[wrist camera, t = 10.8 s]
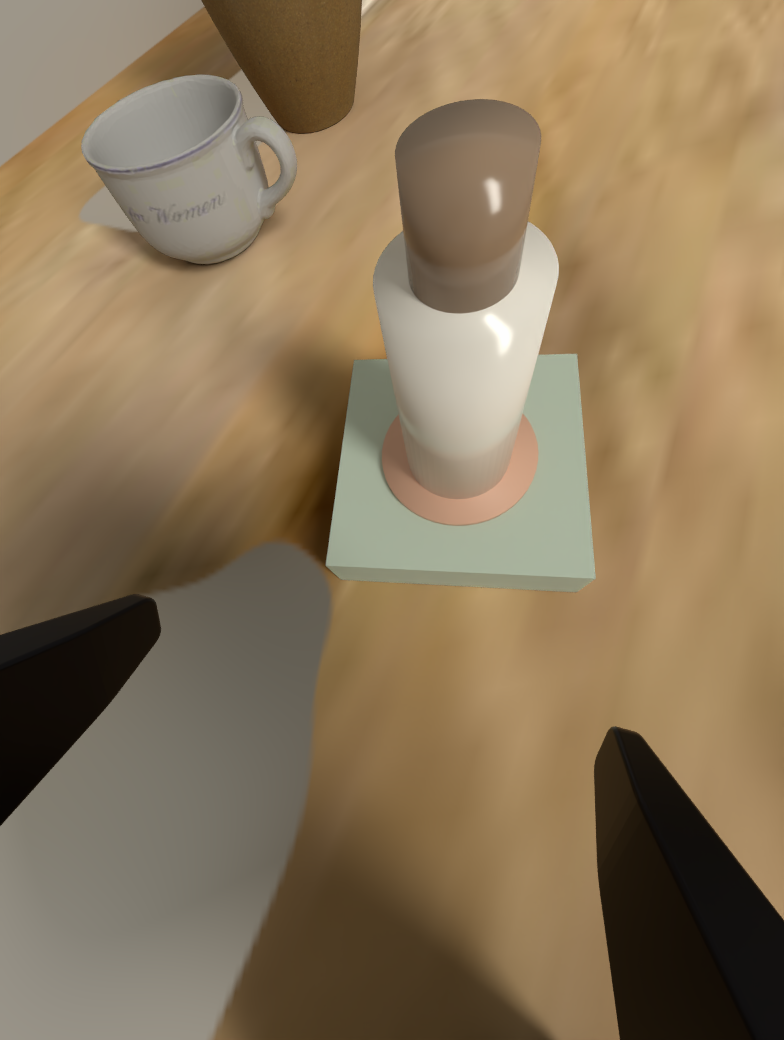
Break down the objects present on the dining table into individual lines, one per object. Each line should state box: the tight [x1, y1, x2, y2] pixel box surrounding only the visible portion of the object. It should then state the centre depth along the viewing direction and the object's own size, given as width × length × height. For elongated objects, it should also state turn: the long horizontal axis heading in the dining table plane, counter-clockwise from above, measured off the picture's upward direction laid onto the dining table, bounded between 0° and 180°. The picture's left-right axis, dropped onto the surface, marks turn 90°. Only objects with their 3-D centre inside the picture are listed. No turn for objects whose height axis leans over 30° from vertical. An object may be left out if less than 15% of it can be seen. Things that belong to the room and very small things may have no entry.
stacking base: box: [326, 354, 596, 592], centre depth 23 cm, size 12×12×3 cm
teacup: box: [82, 75, 297, 264], centre depth 30 cm, size 14×11×8 cm
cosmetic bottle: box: [373, 99, 559, 499], centre depth 15 cm, size 5×5×13 cm
